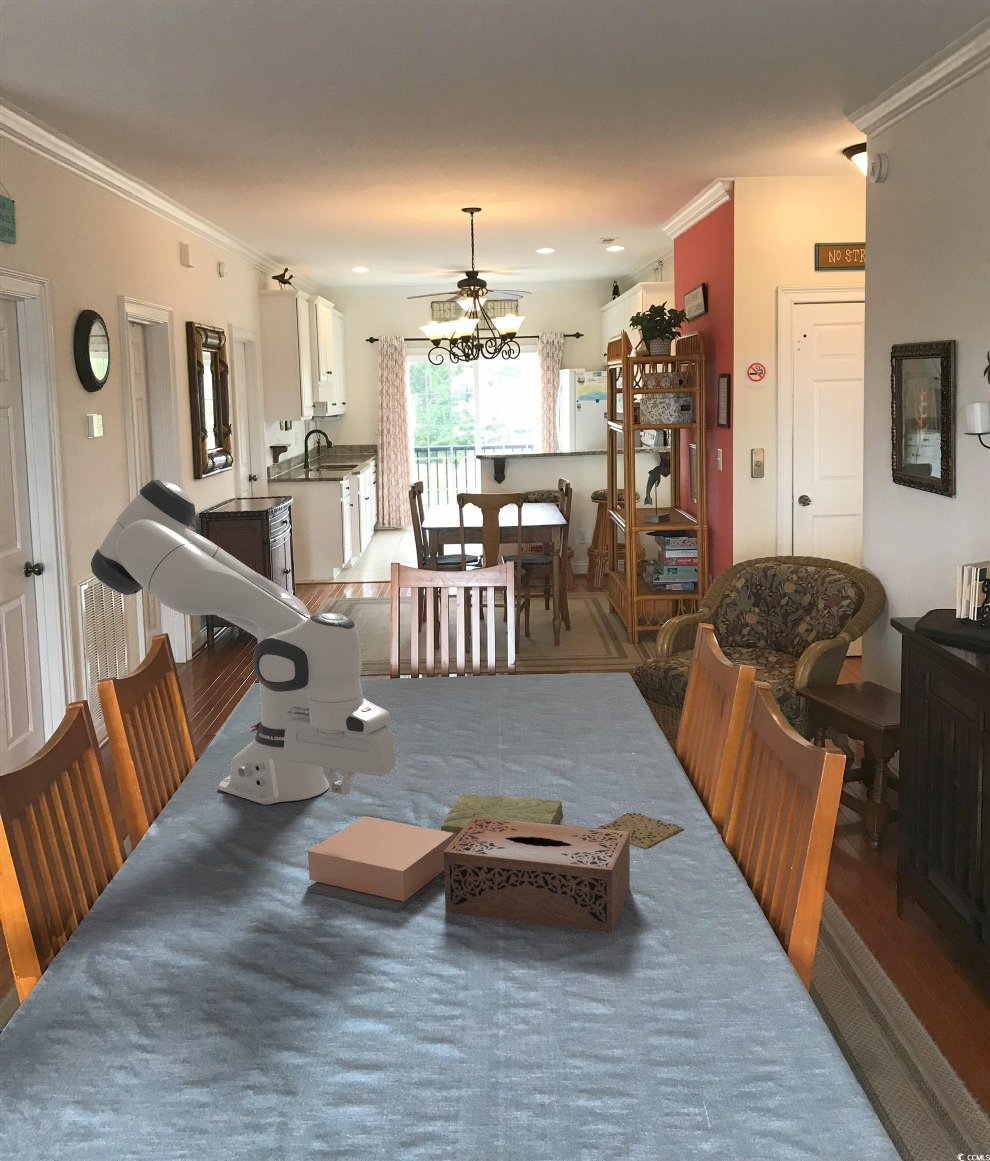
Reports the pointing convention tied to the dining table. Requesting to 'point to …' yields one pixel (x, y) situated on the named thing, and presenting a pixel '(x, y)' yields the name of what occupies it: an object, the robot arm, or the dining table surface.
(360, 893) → the slate mat
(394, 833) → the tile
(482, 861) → the tissue box cover
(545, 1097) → the dining table surface
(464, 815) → the decorative tile
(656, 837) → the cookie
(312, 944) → the dining table surface
